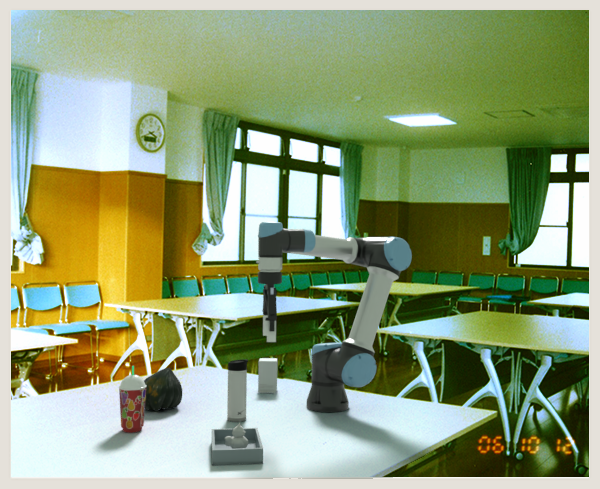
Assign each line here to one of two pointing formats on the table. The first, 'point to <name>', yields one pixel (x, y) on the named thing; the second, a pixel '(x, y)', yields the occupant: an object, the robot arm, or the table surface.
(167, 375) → the squash
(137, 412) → the smoothie
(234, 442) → the white animal figurine
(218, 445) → the bin
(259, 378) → the supplement box
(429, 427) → the table surface
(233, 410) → the travel mug
